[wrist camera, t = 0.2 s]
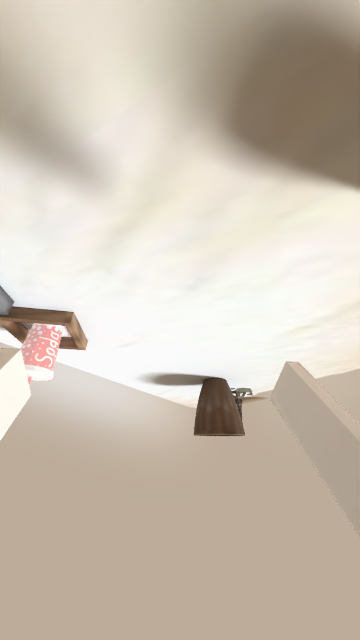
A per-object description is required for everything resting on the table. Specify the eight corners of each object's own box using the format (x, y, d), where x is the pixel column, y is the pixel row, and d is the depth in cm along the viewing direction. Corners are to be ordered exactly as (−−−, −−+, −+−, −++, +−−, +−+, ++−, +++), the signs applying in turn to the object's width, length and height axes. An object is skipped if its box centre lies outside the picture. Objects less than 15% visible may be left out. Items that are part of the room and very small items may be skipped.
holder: (-3, 305, 32) (-9, 316, 31) (73, 312, 34) (70, 323, 32) (29, 336, 41) (25, 346, 40) (87, 341, 43) (85, 350, 42)
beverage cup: (74, 332, 40) (51, 412, 33) (44, 334, 40) (15, 412, 33) (54, 315, 34) (20, 406, 27) (20, 317, 35) (-21, 407, 28)
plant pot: (232, 386, 76) (238, 436, 68) (191, 386, 76) (192, 436, 68) (242, 374, 63) (251, 434, 55) (193, 374, 63) (194, 434, 55)
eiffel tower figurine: (252, 393, 89) (258, 428, 82) (229, 394, 92) (232, 428, 86) (250, 385, 77) (256, 425, 70) (222, 387, 80) (226, 426, 74)
